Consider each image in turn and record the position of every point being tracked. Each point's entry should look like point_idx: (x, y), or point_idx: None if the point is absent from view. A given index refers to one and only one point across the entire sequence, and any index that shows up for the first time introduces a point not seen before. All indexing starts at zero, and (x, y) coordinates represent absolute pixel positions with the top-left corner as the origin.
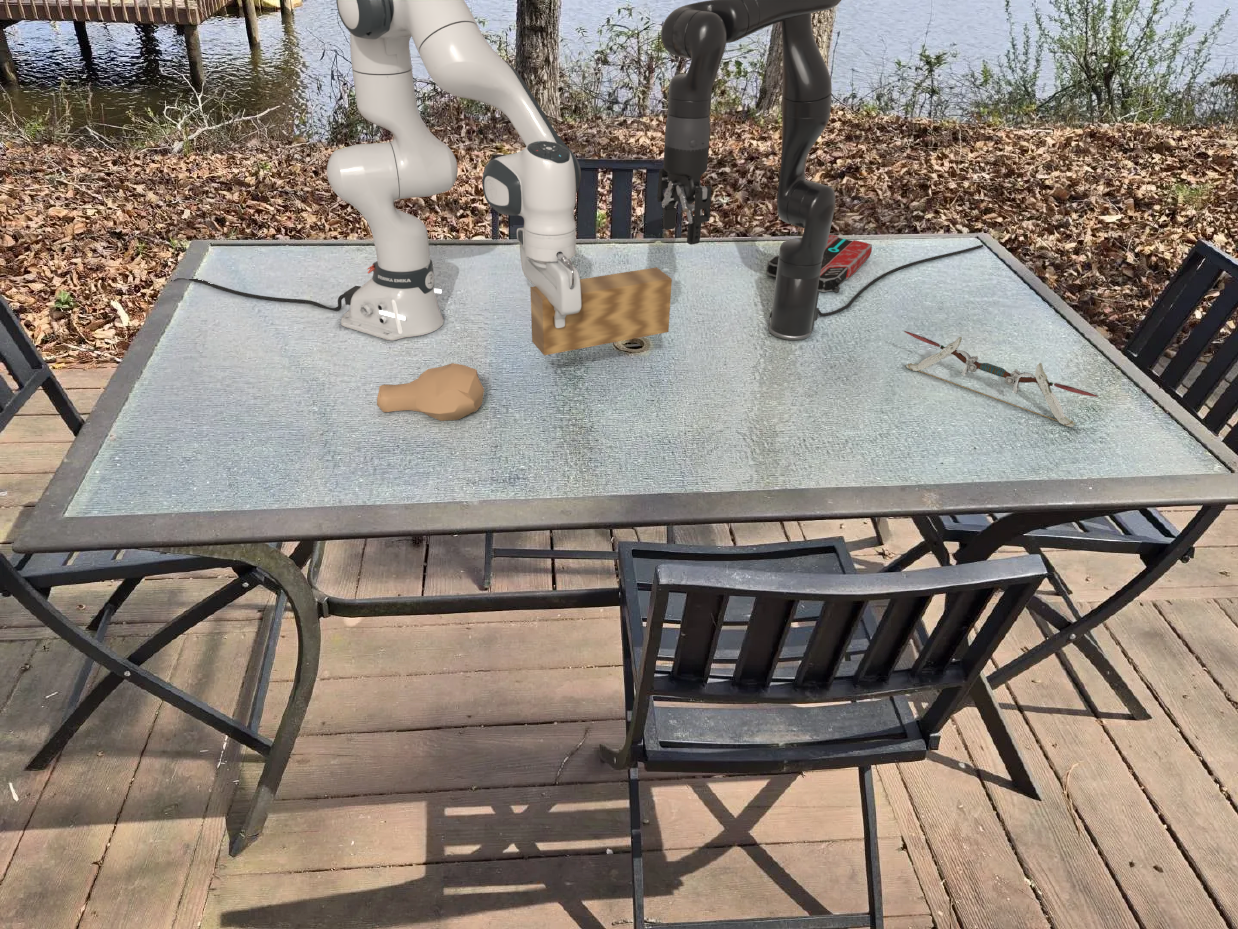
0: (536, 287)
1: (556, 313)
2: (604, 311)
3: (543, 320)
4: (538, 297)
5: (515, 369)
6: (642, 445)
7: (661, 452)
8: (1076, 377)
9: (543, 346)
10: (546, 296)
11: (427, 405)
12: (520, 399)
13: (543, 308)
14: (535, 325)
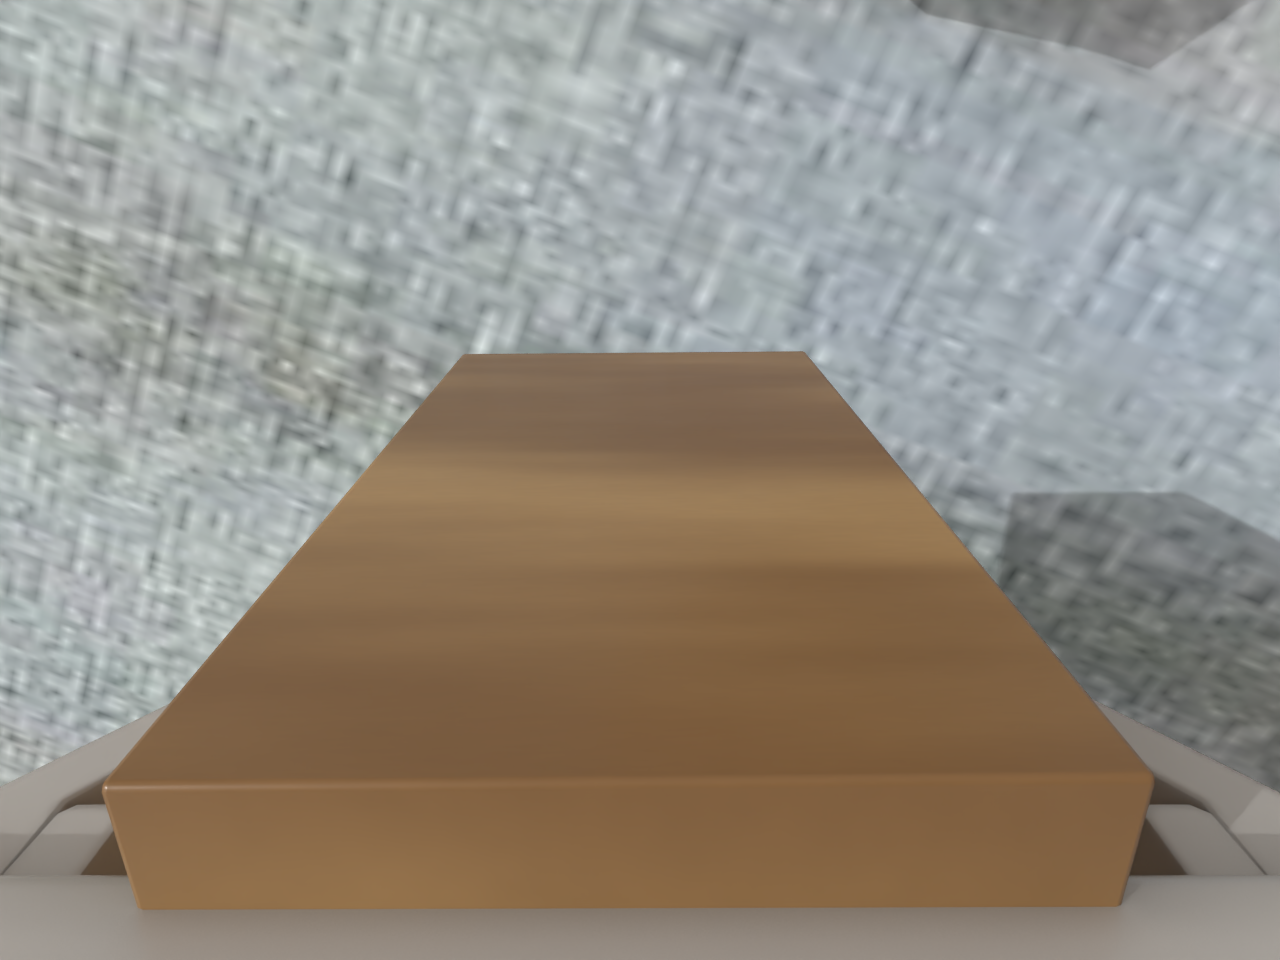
0: (1018, 901)
1: (17, 783)
2: None
3: (332, 516)
4: (450, 740)
5: (1139, 288)
6: (93, 601)
7: (17, 650)
8: None
9: (447, 378)
10: (167, 947)
11: None
12: (768, 181)
13: (224, 645)
14: (704, 424)
